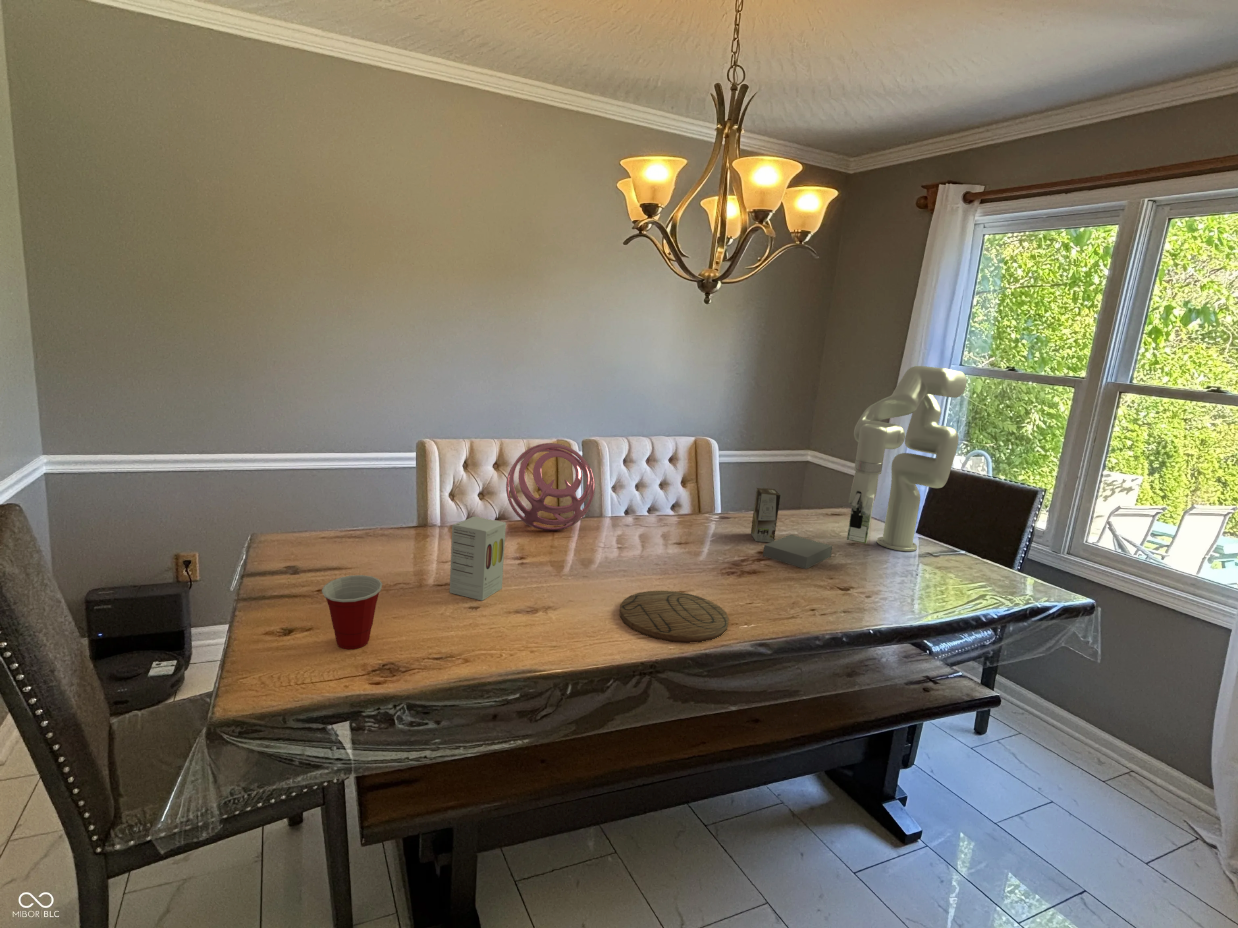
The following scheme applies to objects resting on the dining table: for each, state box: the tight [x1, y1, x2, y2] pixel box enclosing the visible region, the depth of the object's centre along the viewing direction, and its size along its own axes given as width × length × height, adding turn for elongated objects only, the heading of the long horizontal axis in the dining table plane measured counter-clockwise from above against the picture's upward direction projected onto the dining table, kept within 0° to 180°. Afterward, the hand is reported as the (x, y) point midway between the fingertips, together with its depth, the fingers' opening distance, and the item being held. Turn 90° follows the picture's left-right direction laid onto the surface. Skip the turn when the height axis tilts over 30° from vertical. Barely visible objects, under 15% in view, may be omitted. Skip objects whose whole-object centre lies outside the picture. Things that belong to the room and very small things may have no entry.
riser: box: [762, 534, 833, 570], centre depth 209 cm, size 18×14×4 cm
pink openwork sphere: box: [505, 442, 596, 532], centre depth 217 cm, size 28×28×27 cm
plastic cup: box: [321, 574, 383, 650], centre depth 131 cm, size 11×11×12 cm
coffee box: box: [750, 487, 781, 543], centre depth 224 cm, size 9×6×16 cm
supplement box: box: [449, 515, 507, 601], centre depth 161 cm, size 10×9×17 cm
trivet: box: [619, 590, 730, 644], centre depth 157 cm, size 25×25×2 cm
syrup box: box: [846, 494, 876, 544], centre depth 203 cm, size 6×6×14 cm
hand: (859, 524), depth 203 cm, fingers closed on syrup box, 6 cm apart
